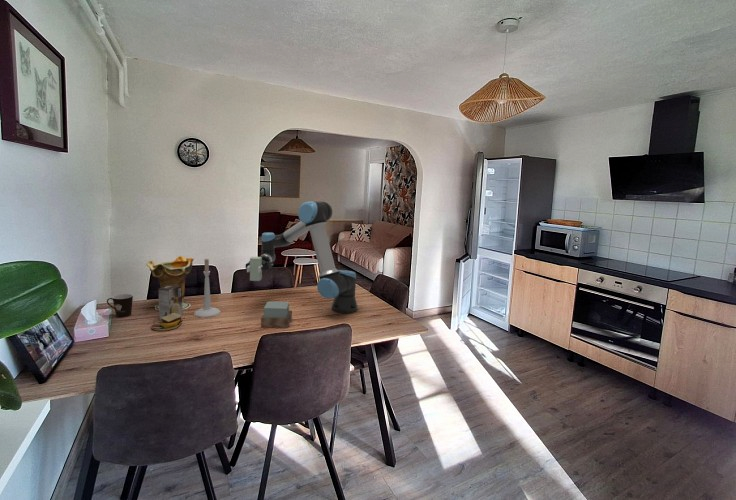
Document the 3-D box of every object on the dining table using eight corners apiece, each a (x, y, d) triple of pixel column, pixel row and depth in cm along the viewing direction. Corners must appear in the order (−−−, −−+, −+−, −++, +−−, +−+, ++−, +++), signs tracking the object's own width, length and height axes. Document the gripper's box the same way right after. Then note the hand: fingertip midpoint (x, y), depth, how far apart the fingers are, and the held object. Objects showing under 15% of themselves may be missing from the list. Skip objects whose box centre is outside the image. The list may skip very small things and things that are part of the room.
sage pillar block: (261, 278, 195) (261, 257, 193) (259, 281, 190) (259, 258, 188) (252, 278, 195) (252, 256, 193) (249, 280, 190) (249, 258, 188)
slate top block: (289, 311, 190) (289, 301, 189) (286, 318, 179) (286, 308, 178) (267, 310, 189) (267, 301, 188) (263, 317, 178) (263, 308, 177)
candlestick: (210, 318, 185) (209, 261, 180) (188, 315, 187) (187, 259, 183) (225, 311, 197) (224, 257, 193) (204, 308, 200) (203, 255, 195)
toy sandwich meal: (146, 326, 171) (146, 317, 170) (176, 319, 181) (176, 310, 181) (157, 334, 163) (156, 324, 162) (187, 326, 173) (187, 317, 173)
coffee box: (172, 313, 189) (171, 284, 186) (183, 315, 187) (182, 285, 185) (158, 319, 180) (157, 288, 177) (170, 321, 179) (169, 289, 176)
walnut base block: (291, 319, 191) (291, 310, 191) (287, 328, 179) (287, 319, 178) (266, 318, 191) (267, 309, 190) (260, 327, 178) (261, 318, 177)
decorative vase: (138, 308, 192) (139, 256, 189) (175, 300, 213) (176, 253, 210) (166, 315, 185) (167, 261, 182) (202, 306, 206) (203, 257, 203)
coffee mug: (137, 314, 185) (136, 295, 183) (120, 319, 177) (119, 299, 175) (123, 310, 190) (122, 292, 188) (105, 314, 182) (104, 295, 180)
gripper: (279, 268, 210) (270, 277, 187) (248, 267, 209) (235, 276, 187) (279, 255, 209) (271, 263, 186) (248, 254, 208) (235, 262, 185)
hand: (253, 269), depth 186 cm, fingers closed on sage pillar block, 5 cm apart
